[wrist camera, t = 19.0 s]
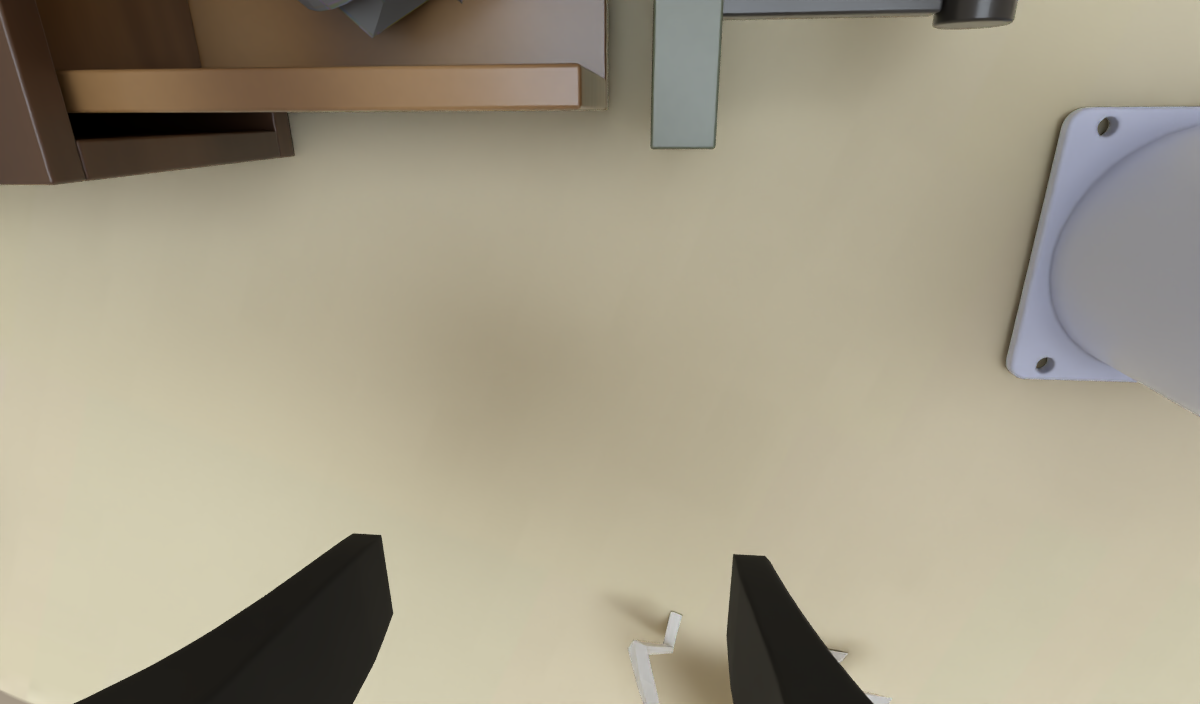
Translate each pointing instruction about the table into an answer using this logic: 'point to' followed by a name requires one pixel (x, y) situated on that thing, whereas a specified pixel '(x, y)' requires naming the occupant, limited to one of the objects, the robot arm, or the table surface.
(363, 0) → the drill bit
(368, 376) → the table surface
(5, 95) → the cabinet
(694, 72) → the drawer
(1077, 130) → the robot arm
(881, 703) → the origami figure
